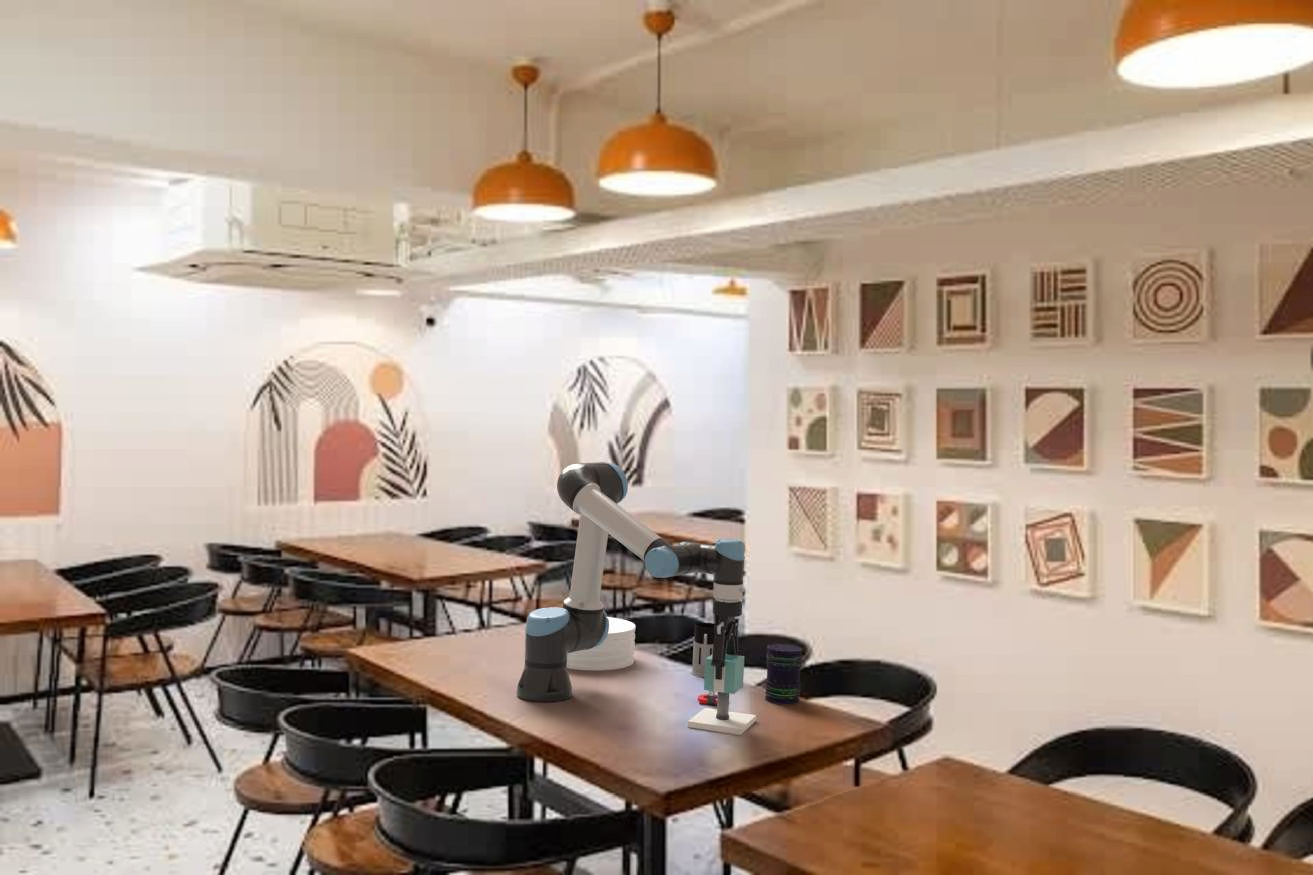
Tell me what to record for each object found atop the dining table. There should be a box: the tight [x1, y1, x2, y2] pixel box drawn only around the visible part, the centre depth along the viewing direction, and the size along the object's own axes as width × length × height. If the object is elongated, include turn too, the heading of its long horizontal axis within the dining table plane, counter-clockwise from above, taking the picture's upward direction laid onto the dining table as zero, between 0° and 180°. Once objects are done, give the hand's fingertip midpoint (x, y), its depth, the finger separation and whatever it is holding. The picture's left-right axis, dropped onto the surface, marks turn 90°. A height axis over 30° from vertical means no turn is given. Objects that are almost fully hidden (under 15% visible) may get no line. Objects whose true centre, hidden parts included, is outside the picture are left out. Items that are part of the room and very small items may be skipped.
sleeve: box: [703, 654, 745, 695], centre depth 277 cm, size 8×8×8 cm
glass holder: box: [690, 622, 718, 678], centre depth 328 cm, size 9×14×15 cm, turn 174°
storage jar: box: [764, 643, 803, 706], centre depth 304 cm, size 10×10×15 cm
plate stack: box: [567, 616, 636, 671], centre depth 342 cm, size 28×28×12 cm
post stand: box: [687, 692, 757, 736], centre depth 278 cm, size 14×14×9 cm
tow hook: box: [697, 690, 718, 706], centre depth 300 cm, size 8×13×9 cm
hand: (724, 687), depth 277 cm, fingers closed on sleeve, 8 cm apart
